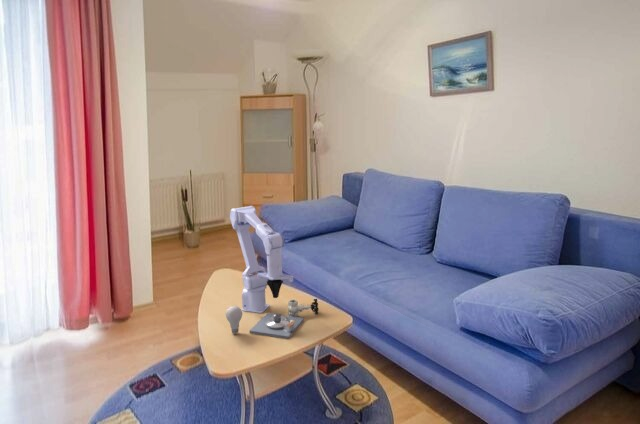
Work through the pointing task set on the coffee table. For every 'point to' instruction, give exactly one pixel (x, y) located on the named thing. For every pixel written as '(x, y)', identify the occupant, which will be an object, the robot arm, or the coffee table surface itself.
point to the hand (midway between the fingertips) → (275, 297)
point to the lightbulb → (234, 318)
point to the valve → (301, 307)
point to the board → (281, 333)
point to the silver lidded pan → (279, 322)
